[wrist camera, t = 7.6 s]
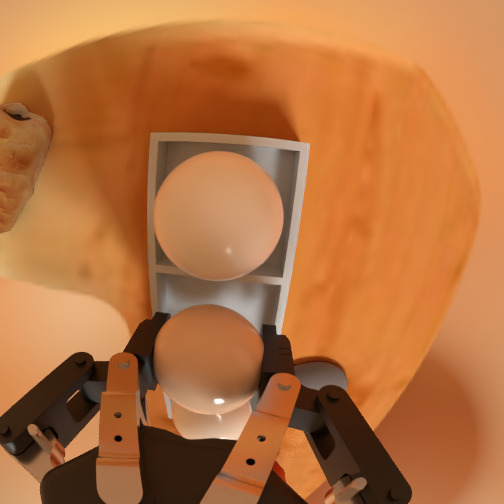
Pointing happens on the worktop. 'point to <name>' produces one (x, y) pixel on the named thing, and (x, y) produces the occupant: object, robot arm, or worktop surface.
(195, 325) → the pale pink ball
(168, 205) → the egg
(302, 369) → the mat
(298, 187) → the carton
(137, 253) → the worktop surface
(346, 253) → the worktop surface
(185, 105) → the worktop surface
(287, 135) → the worktop surface
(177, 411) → the egg
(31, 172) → the pastry
